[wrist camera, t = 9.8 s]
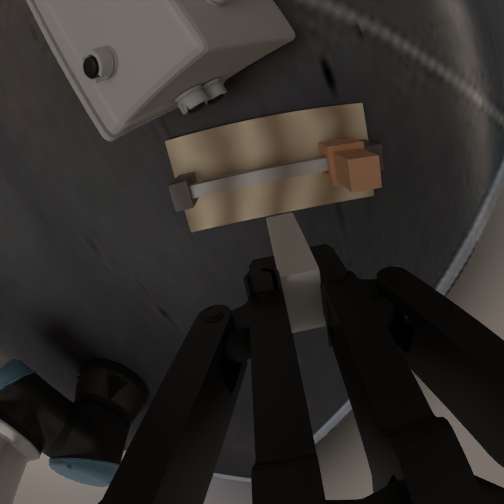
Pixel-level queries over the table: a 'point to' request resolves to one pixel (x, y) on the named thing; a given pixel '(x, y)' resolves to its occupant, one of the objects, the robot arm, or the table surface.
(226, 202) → the rail board
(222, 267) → the table surface
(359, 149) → the brown stepped block
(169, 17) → the junction box
